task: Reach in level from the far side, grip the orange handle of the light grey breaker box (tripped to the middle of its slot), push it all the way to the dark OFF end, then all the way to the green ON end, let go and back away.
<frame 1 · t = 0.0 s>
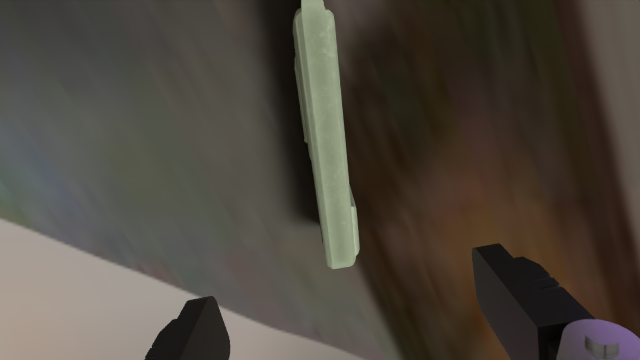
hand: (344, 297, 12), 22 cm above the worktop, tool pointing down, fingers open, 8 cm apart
handheld radio: (321, 96, 32), on the worktop
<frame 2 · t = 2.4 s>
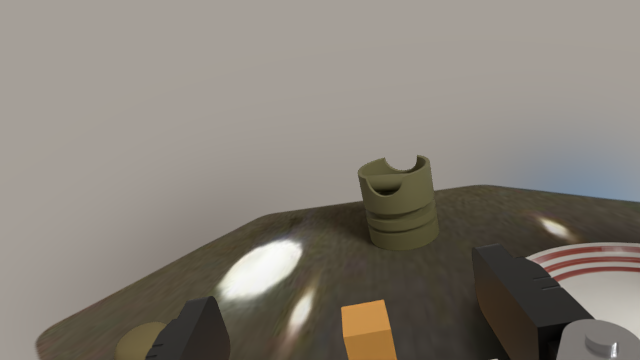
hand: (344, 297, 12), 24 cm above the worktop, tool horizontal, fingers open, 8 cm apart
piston: (404, 234, 65), on the worktop
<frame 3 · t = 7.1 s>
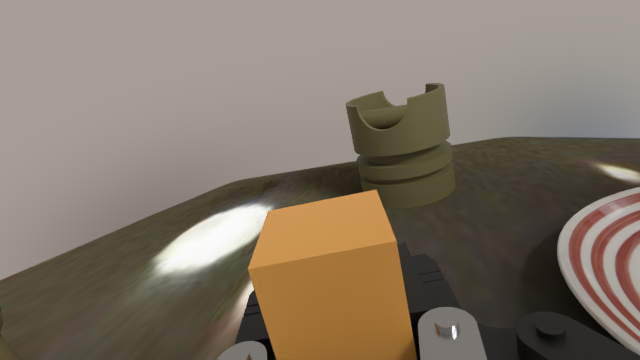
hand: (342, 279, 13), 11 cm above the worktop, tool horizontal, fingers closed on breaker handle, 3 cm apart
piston: (408, 191, 49), on the worktop
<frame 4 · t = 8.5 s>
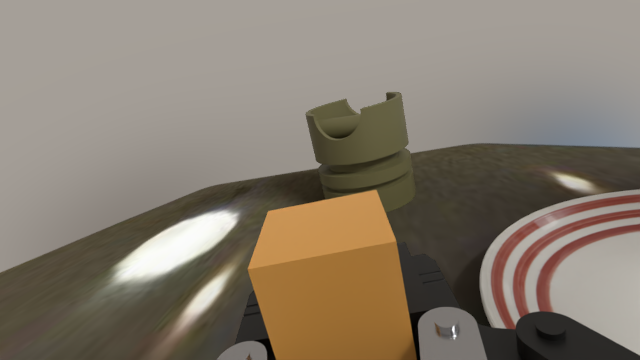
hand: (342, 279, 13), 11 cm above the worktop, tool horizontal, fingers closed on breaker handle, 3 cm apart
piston: (370, 198, 49), on the worktop
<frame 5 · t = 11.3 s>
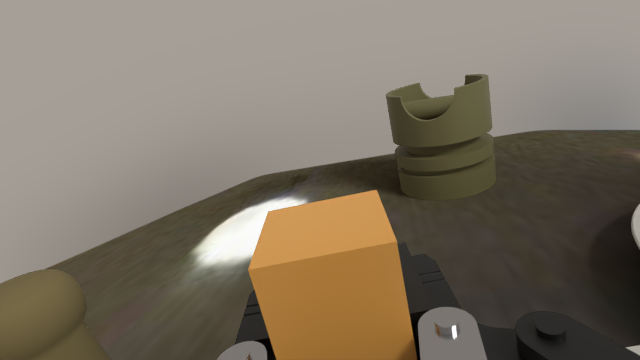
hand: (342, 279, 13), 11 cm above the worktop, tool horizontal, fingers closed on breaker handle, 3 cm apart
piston: (446, 183, 48), on the worktop
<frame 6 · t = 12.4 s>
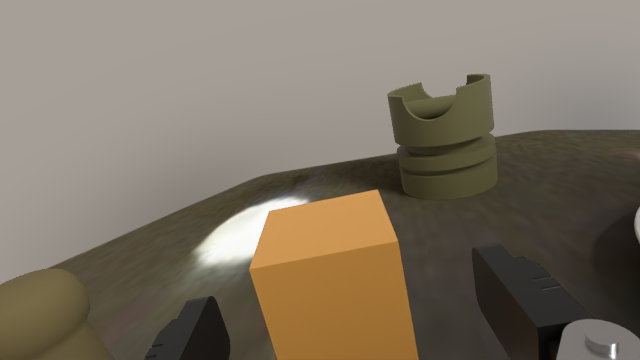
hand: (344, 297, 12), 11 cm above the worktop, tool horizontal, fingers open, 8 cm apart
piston: (448, 183, 48), on the worktop
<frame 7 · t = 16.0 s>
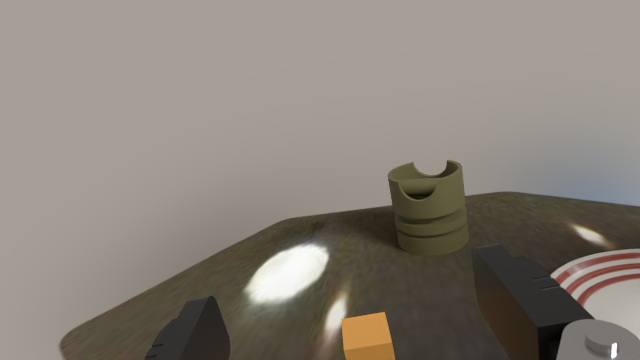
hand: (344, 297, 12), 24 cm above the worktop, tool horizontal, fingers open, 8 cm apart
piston: (432, 239, 65), on the worktop
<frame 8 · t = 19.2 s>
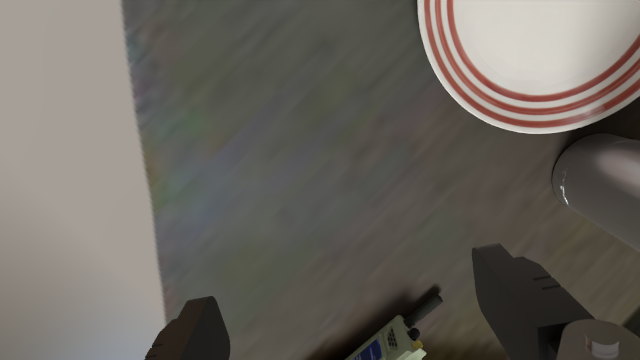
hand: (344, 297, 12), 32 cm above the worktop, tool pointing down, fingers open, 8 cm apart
handheld radio: (367, 348, 52), on the worktop
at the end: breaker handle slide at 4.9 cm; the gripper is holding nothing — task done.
